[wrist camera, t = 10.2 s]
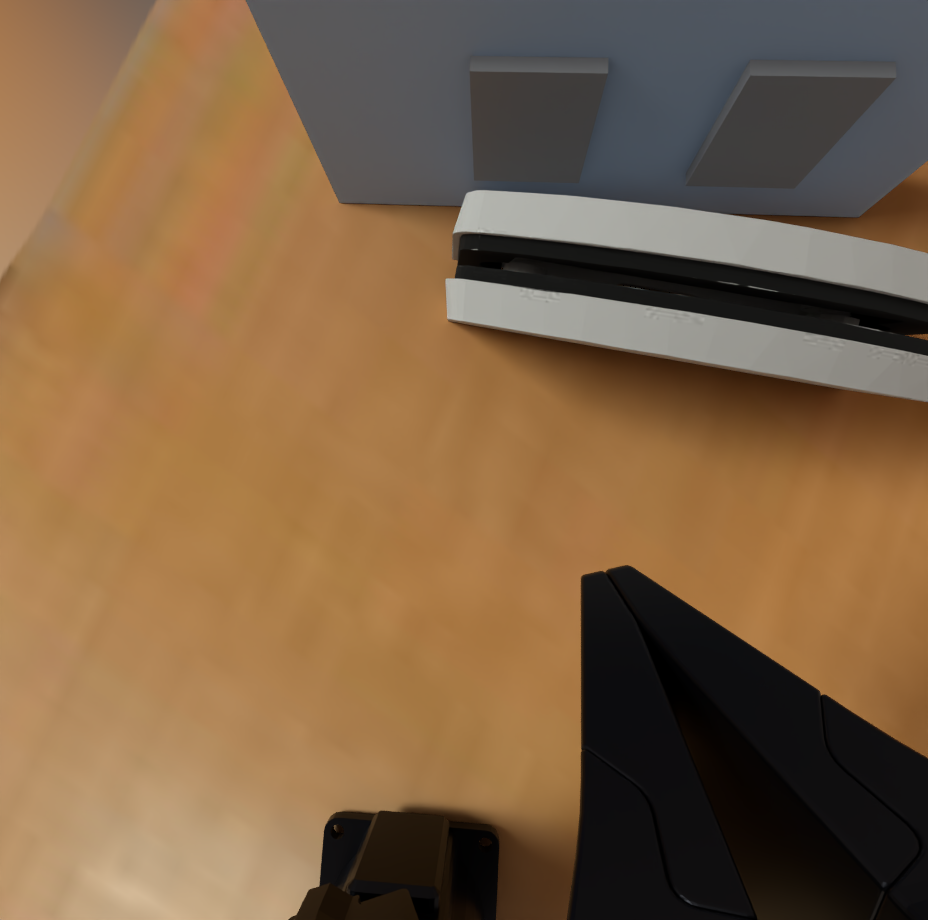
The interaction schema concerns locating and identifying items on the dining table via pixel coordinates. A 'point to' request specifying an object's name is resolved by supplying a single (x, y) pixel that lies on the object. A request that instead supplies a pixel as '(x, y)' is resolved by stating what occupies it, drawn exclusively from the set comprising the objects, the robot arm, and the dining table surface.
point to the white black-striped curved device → (695, 289)
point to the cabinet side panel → (610, 99)
